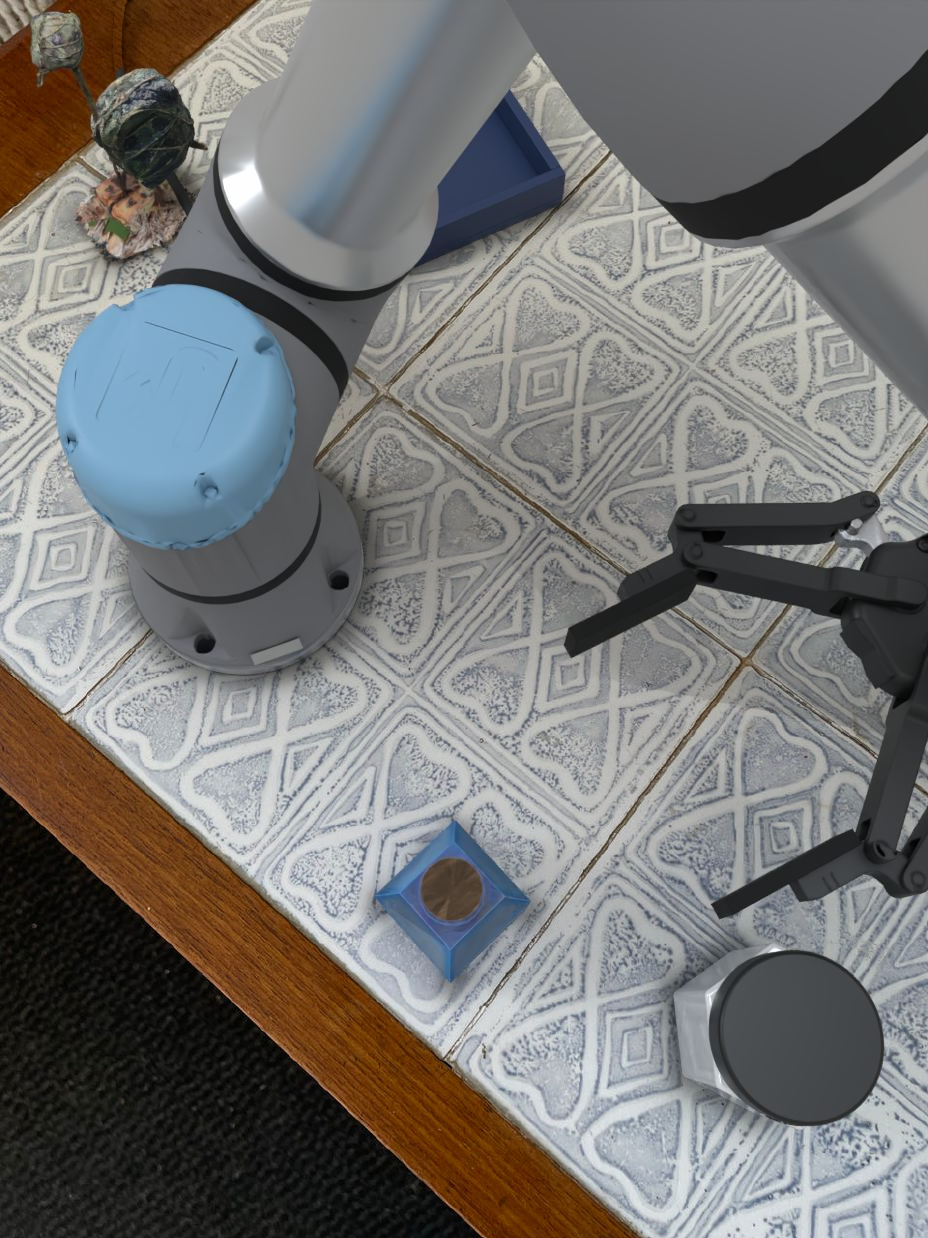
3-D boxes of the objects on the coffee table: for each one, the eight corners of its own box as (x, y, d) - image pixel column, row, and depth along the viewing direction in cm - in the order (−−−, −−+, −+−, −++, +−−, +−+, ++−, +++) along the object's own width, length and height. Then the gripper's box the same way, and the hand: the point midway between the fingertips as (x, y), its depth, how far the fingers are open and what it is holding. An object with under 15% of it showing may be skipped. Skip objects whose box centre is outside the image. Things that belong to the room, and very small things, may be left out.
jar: (725, 1139, 64) (783, 1170, 53) (640, 1013, 66) (678, 1016, 55) (846, 1047, 66) (928, 1057, 54) (760, 926, 68) (821, 912, 56)
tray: (323, 140, 86) (318, 107, 83) (479, 76, 88) (480, 42, 85) (400, 273, 83) (398, 244, 79) (562, 203, 85) (566, 173, 82)
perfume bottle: (455, 834, 69) (454, 802, 58) (525, 909, 68) (538, 892, 57) (381, 905, 68) (365, 886, 57) (450, 983, 67) (448, 980, 55)
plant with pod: (241, 220, 84) (177, -6, 65) (98, 276, 82) (-9, 61, 63) (200, 141, 86) (128, -100, 67) (61, 194, 85) (-54, -37, 66)
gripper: (1145, 815, 54) (768, 1031, 51) (855, 404, 61) (509, 571, 58) (1249, 787, 47) (819, 1036, 43) (907, 326, 54) (516, 511, 51)
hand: (641, 771), depth 51 cm, fingers open, 13 cm apart
